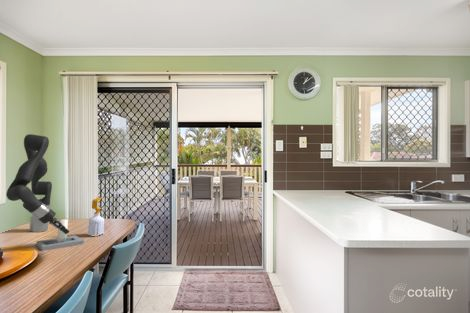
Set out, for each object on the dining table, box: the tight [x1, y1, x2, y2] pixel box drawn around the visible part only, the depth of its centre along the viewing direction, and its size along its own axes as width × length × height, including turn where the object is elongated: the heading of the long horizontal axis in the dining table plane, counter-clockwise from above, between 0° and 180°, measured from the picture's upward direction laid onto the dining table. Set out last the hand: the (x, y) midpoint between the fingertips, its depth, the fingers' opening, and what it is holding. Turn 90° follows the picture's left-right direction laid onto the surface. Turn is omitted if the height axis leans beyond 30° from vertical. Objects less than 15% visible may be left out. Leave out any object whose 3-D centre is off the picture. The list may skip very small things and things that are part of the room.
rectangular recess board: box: [35, 235, 85, 252], centre depth 149 cm, size 20×14×2 cm
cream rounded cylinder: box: [57, 218, 69, 243], centre depth 149 cm, size 4×4×13 cm
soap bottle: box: [87, 197, 105, 236], centre depth 171 cm, size 9×9×25 cm
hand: (66, 231), depth 151 cm, fingers closed on cream rounded cylinder, 4 cm apart
